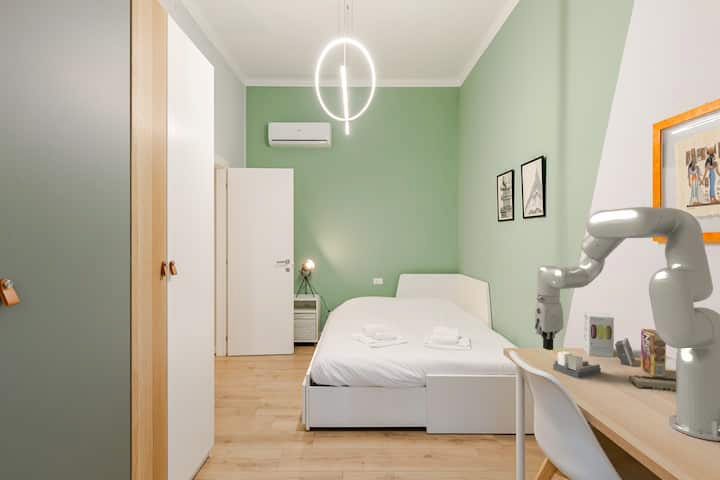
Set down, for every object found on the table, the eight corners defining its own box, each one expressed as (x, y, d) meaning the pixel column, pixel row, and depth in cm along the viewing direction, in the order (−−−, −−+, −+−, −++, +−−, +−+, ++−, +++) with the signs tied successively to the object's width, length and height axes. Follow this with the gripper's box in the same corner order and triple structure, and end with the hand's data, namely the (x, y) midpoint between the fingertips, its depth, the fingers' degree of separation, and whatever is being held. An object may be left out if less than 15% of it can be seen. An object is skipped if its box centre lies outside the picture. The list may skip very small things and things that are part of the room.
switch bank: (600, 373, 149) (600, 364, 149) (577, 378, 144) (577, 368, 144) (575, 365, 158) (575, 356, 158) (553, 369, 154) (553, 360, 153)
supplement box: (588, 355, 170) (588, 315, 170) (583, 349, 179) (583, 311, 179) (614, 357, 168) (614, 316, 168) (608, 351, 177) (607, 312, 176)
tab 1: (571, 365, 151) (571, 353, 151) (564, 366, 150) (564, 354, 150) (564, 362, 154) (564, 351, 154) (557, 364, 153) (557, 352, 153)
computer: (681, 385, 137) (681, 375, 137) (693, 394, 130) (693, 384, 130) (628, 381, 142) (628, 371, 142) (636, 389, 134) (636, 379, 134)
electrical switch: (633, 367, 156) (630, 342, 156) (617, 365, 159) (614, 341, 159) (635, 361, 163) (632, 337, 163) (620, 360, 166) (617, 337, 167)
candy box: (666, 377, 144) (666, 334, 144) (653, 376, 145) (653, 334, 144) (653, 369, 153) (652, 328, 153) (640, 368, 153) (640, 328, 153)
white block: (582, 369, 147) (582, 356, 147) (575, 370, 145) (575, 358, 145) (575, 366, 149) (575, 354, 149) (568, 368, 148) (568, 356, 148)
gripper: (541, 302, 143) (541, 354, 143) (571, 299, 149) (571, 349, 149) (525, 299, 149) (524, 348, 150) (554, 296, 155) (554, 344, 156)
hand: (548, 348), depth 149 cm, fingers closed
